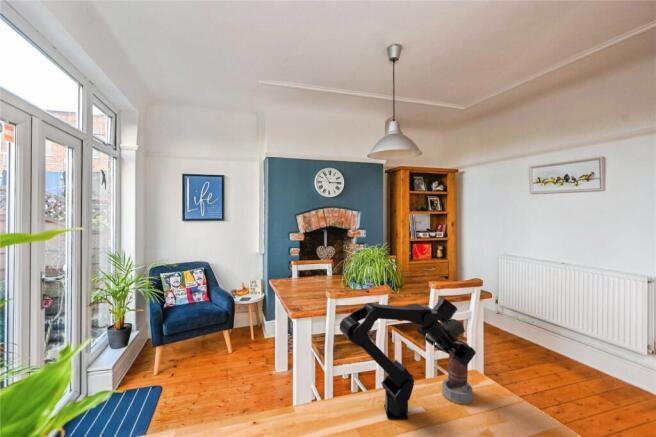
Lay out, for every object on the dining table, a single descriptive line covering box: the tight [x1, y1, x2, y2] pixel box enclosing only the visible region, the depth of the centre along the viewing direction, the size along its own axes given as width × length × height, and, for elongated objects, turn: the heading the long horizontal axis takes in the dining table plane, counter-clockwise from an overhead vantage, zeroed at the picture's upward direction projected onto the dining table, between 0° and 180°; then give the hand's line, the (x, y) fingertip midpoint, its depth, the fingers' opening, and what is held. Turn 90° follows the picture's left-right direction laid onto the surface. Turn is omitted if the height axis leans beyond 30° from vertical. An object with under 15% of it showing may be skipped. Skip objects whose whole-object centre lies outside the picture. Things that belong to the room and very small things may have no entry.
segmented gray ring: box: [441, 378, 473, 406], centre depth 106 cm, size 10×10×4 cm
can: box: [448, 339, 470, 387], centre depth 106 cm, size 6×6×14 cm
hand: (461, 358), depth 106 cm, fingers closed on can, 5 cm apart
